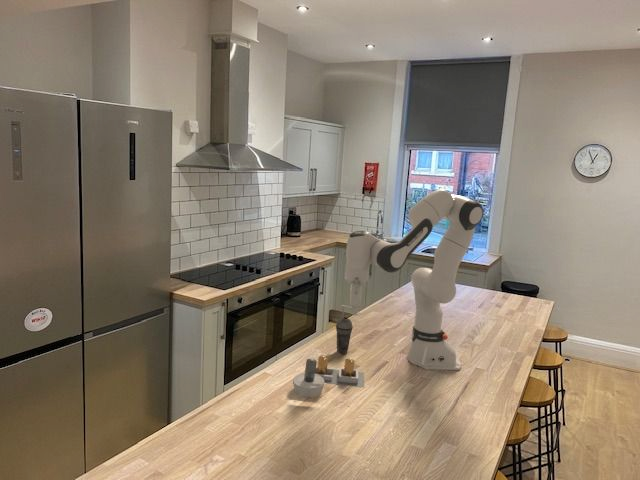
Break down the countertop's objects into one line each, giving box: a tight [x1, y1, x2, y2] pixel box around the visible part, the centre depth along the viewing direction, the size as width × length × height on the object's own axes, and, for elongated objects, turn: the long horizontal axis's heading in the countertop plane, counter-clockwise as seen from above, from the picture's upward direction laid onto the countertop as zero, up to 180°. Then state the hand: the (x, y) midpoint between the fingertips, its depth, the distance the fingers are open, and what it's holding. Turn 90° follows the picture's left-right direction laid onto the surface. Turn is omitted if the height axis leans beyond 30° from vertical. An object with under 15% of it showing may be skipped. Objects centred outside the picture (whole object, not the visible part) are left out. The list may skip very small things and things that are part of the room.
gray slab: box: [315, 365, 365, 388], centre depth 178 cm, size 22×12×3 cm, turn 86°
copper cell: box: [343, 358, 355, 377], centre depth 177 cm, size 4×4×8 cm
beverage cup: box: [335, 307, 354, 355], centre depth 202 cm, size 7×7×20 cm
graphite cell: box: [304, 358, 318, 382], centre depth 165 cm, size 4×4×8 cm
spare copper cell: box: [317, 355, 329, 375], centre depth 178 cm, size 4×4×8 cm
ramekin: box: [292, 372, 325, 398], centre depth 166 cm, size 11×11×5 cm
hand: (354, 310), depth 176 cm, fingers open, 8 cm apart
